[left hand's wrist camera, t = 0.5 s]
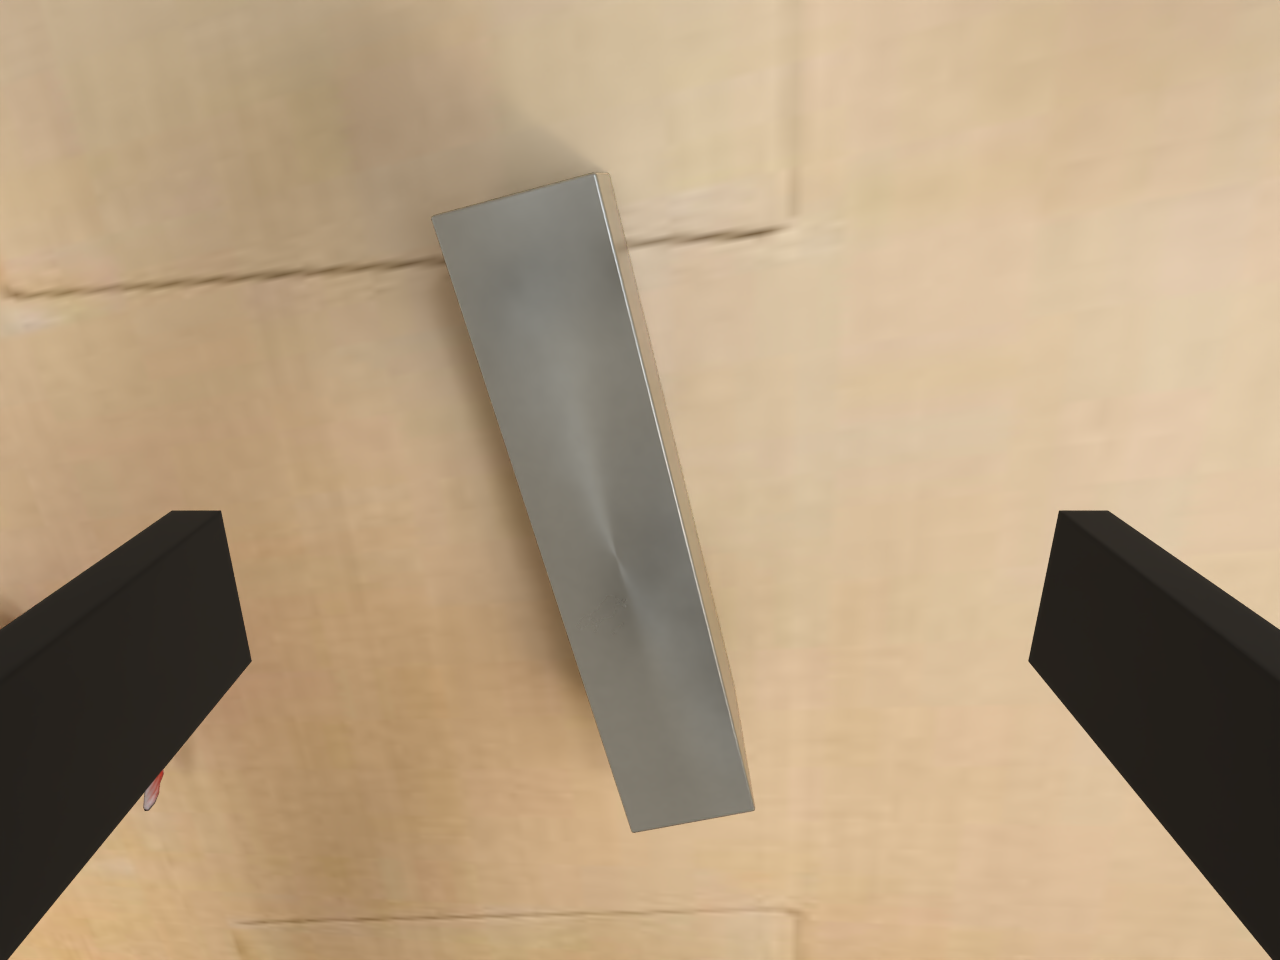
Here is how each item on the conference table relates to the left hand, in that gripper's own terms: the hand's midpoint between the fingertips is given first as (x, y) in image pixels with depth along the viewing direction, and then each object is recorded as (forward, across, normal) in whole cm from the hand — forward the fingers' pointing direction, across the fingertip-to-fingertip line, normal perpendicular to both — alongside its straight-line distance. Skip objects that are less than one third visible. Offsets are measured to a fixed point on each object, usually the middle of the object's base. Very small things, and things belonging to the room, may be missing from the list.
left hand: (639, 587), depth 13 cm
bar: (+21, -1, -6) cm, 22 cm away
